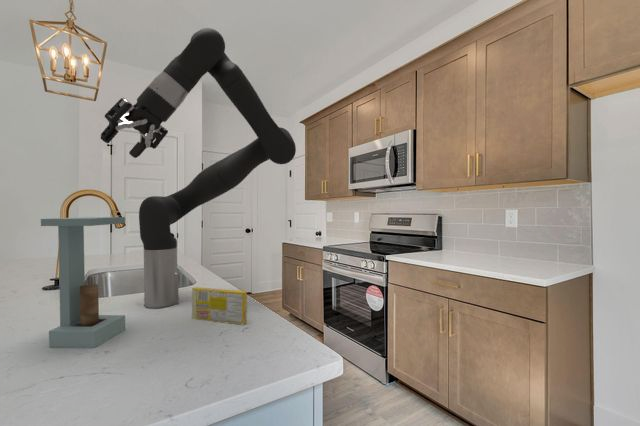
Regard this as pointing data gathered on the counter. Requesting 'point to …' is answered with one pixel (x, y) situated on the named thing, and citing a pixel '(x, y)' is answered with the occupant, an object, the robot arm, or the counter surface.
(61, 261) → the socket stand
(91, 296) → the peg
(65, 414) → the counter surface
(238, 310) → the candy box
